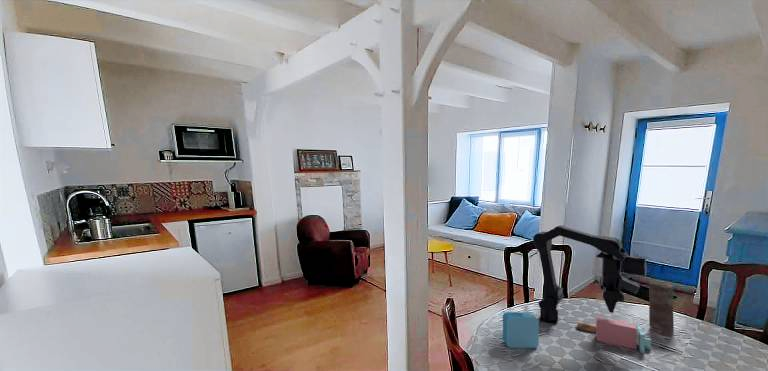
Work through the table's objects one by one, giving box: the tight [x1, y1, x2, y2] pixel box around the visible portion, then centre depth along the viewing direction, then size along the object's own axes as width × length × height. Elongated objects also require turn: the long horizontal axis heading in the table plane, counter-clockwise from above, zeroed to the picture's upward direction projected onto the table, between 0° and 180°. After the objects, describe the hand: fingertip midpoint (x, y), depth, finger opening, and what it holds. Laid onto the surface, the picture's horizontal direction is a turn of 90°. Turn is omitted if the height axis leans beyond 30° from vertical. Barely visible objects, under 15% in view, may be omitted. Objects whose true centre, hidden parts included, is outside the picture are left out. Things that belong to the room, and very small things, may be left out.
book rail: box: [577, 320, 596, 333], centre depth 122 cm, size 18×2×2 cm, turn 58°
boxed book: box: [595, 316, 638, 350], centre depth 115 cm, size 12×4×8 cm, turn 58°
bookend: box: [635, 323, 652, 355], centre depth 111 cm, size 4×8×7 cm, turn 148°
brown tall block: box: [648, 281, 675, 336], centre depth 122 cm, size 8×7×20 cm
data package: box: [502, 311, 540, 349], centre depth 115 cm, size 12×4×12 cm, turn 88°
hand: (610, 309), depth 117 cm, fingers open, 6 cm apart
